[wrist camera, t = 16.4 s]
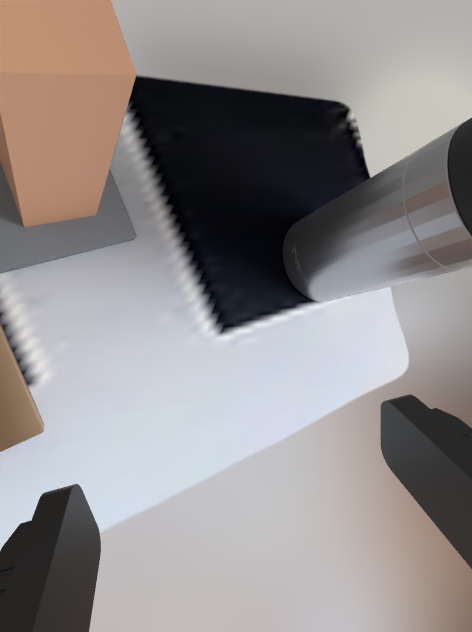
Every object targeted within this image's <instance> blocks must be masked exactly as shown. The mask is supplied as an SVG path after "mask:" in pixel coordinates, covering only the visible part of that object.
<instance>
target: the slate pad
mask: <svg viewBox="0 0 472 632" xmlns="http://www.w3.org/2000/svg"><path fill="white" fill-rule="evenodd" d="M135 236H136V234H135V231H134V229H133V226H132V224H131V221H130V219H129V216H128V214H127V211H126V209H125V206H124V204H123V201H122V199H121V196H120V194H119V191H118V189H117V186H116V184H115V181H114V179H113V176H112V174H111V171H110V169H109V172H108V175H107V179H106V182H105V186H104V189H103V193H102V196H101V200H100V203H99V207H98V210H97V214H96V215H95V216H89V217H83V218H77V219H71V220H65V221H59V222H53V223H47V224H41V225H35V226H29V227H24V226H23V223H22V220H21V217H20V215H19V212H18V209H17V206H16V203H15V201H14V198H13V195H12V192H11V190H10V187H9V184H8V181H7V178H6V176H5V173H4V170H3V167H2V165H1V162H0V273H4V272H8V271H12V270H16V269H20V268H24V267H28V266H32V265H35V264H39V263H43V262H47V261H51V260H55V259H59V258H63V257H67V256H71V255H74V254H78V253H82V252H86V251H90V250H94V249H98V248H102V247H106V246H109V245H113V244H117V243H121V242H125V241H129V240H133V239H134V238H135Z"/></svg>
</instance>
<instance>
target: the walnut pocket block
mask: <svg viewBox="0 0 472 632" xmlns="http://www.w3.org/2000/svg"><path fill="white" fill-rule="evenodd" d="M43 430H44V423H43V421H42V419H41V416H40V414H39V412H38V409H37V407H36V405H35V402H34V400H33V398H32V395H31V393H30V391H29V388H28V386H27V384H26V381H25V379H24V377H23V374H22V372H21V370H20V367H19V365H18V363H17V360H16V358H15V356H14V353H13V351H12V349H11V346H10V344H9V342H8V339H7V337H6V335H5V332H4V330H3V327H2V325H1V323H0V452H1V451H3V450H5V449H8V448H10V447H12V446H14V445H16V444H18V443H21V442H23V441H25V440H27V439H29V438H31V437H33V436H36V435H38V434H40V433H42V432H43Z"/></svg>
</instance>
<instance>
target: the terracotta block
mask: <svg viewBox="0 0 472 632" xmlns="http://www.w3.org/2000/svg"><path fill="white" fill-rule="evenodd" d="M135 77H136V73H135V69H134V67H133V64H132V61H131V58H130V55H129V52H128V49H127V46H126V43H125V40H124V37H123V35H122V32H121V29H120V26H119V23H118V20H117V17H116V14H115V11H114V8H113V6H112V3H111V0H0V162H1V165H2V167H3V170H4V173H5V176H6V178H7V181H8V184H9V187H10V190H11V192H12V195H13V198H14V201H15V203H16V206H17V209H18V212H19V215H20V217H21V220H22V223H23V226H24V227H29V226H35V225H41V224H47V223H53V222H59V221H65V220H71V219H77V218H83V217H89V216H95V215H96V214H97V210H98V207H99V203H100V200H101V196H102V193H103V189H104V186H105V182H106V179H107V175H108V172H109V168H110V165H111V161H112V158H113V154H114V151H115V147H116V144H117V140H118V137H119V133H120V130H121V126H122V123H123V119H124V116H125V112H126V109H127V105H128V102H129V98H130V95H131V91H132V88H133V84H134V81H135Z"/></svg>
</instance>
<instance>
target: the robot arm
mask: <svg viewBox="0 0 472 632" xmlns="http://www.w3.org/2000/svg"><path fill="white" fill-rule="evenodd" d="M283 263H284V266H285V270H286V273H287V275H288V277H289V279H290V281H291V282H292V283H293V285H294V286H295V288H296V289H297V290H298V291H299V292H300V293H301V294H303V295H304V296H306V297H307V298H309V299H312V300H315V301H320V302H325V301H331V300H335V299H339V298H344V297H348V296H352V295H357V294H361V293H365V292H370V291H374V290H378V289H382V288H386V287H391V286H395V285H399V284H403V283H407V282H412V281H416V280H419V279H424V278H428V277H432V276H437V275H441V274H445V273H449V272H454V271H458V270H461V269H465V268H469V267H472V118H471V119H469V120H467V121H466V122H464V123H462V124H461V125H459V126H457V127H455V128H454V129H452V130H450V131H449V132H447V133H445V134H443V135H442V136H440V137H439V138H437V139H435V140H433V141H432V142H430V143H428V144H427V145H425V146H423V147H422V148H420V149H418V150H417V151H415V152H414V153H412V154H410V155H409V156H407V157H405V158H404V159H402V160H400V161H398V162H397V163H395V164H393V165H392V166H390V167H388V168H387V169H385V170H383V171H382V172H380V173H378V174H377V175H375V176H373V177H372V178H370V179H368V180H366V181H365V182H363V183H361V184H360V185H358V186H356V187H355V188H353V189H351V190H350V191H348V192H346V193H345V194H343V195H341V196H340V197H338V198H336V199H334V200H333V201H331V202H329V203H328V204H326V205H324V206H322V207H321V208H319V209H317V210H316V211H314V212H312V213H311V214H309V215H307V216H306V217H304V218H302V219H301V220H299V221H298V222H296V223H294V224H293V225H292V227H291V228H290V229H289V230H288V232H287V234H286V236H285V239H284V243H283ZM381 449H382V454H383V456H384V459H385V461H386V463H387V465H388V466H389V468H390V469H391V471H392V472H393V473H394V474H395V476H396V477H397V478H398V479H399V480H400V482H401V483H402V484H403V485H404V487H405V488H406V489H407V490H408V491H409V493H410V494H411V495H412V496H413V498H414V499H415V500H416V501H417V502H418V504H419V505H420V506H421V507H422V509H423V510H424V511H425V512H426V513H427V515H428V516H429V517H430V518H431V520H432V521H433V522H434V523H435V525H436V526H437V527H438V528H439V529H440V531H441V532H442V533H443V534H444V535H445V537H446V538H447V539H448V540H449V542H450V543H451V544H452V545H453V547H454V548H455V549H456V550H457V551H458V553H459V554H460V555H461V556H462V558H463V559H464V560H465V561H466V563H467V564H468V565H469V566H470V567H471V569H472V428H470V427H469V426H468V425H467V424H465V423H464V422H463V421H461V420H460V419H459V418H457V417H455V416H453V415H451V414H448V413H446V412H444V411H442V410H439V409H437V408H434V409H430V408H428V407H427V406H426V405H425V404H424V403H422V402H421V401H420V400H419V399H417V398H416V397H415V396H413V395H405V396H402V397H398V398H394V399H391V400H387V401H384V402H383V403H382V404H381ZM100 542H101V541H100V533H99V529H98V526H97V523H96V521H95V519H94V516H93V514H92V512H91V510H90V507H89V505H88V503H87V500H86V498H85V496H84V493H83V491H82V489H81V487H80V486H79V485H78V484H75V485H71V486H67V487H64V488H60V489H56V490H53V491H49V492H45V493H43V494H42V496H41V497H40V499H39V502H38V504H37V507H36V510H35V513H34V515H33V518H32V521H28V522H25V523H21V524H20V525H19V526H18V528H17V529H16V530H15V531H14V533H13V534H12V535H11V537H10V538H9V539H8V540H7V542H6V543H5V544H4V546H3V547H2V549H1V551H0V632H89V627H90V621H91V614H92V607H93V600H94V594H95V587H96V581H97V573H98V567H99V560H100V552H101V543H100Z"/></svg>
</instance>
